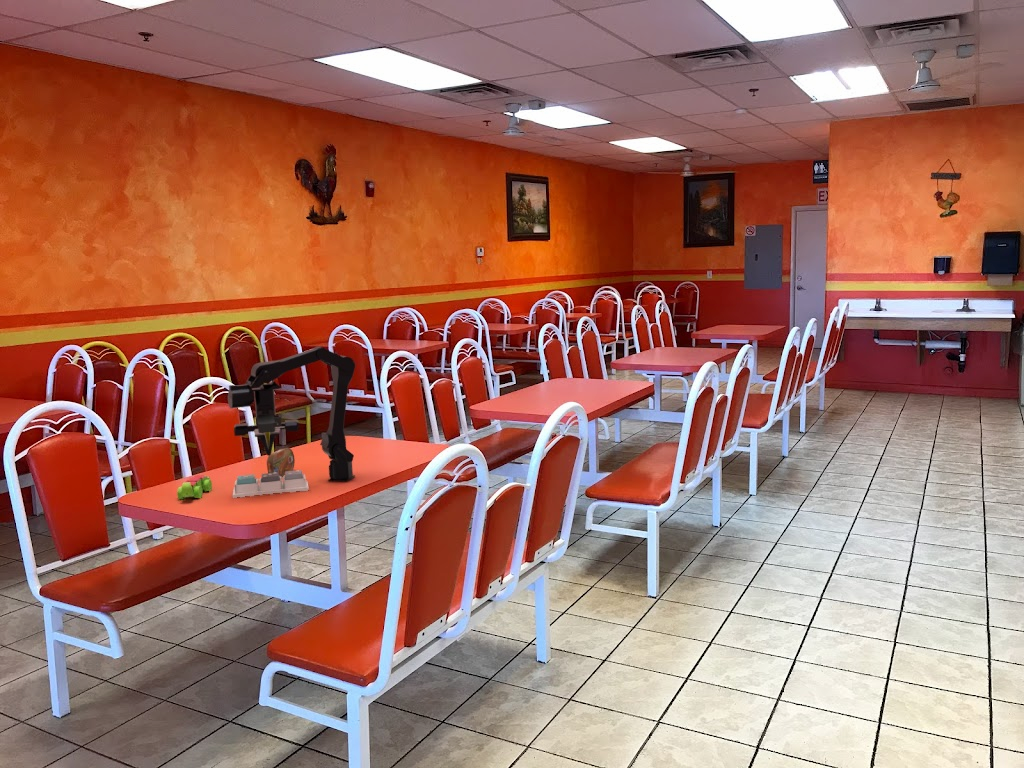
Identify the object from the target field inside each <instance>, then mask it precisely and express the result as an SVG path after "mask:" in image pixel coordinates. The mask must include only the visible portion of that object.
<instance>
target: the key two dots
mask: <svg viewBox="0 0 1024 768" xmlns="http://www.w3.org/2000/svg"><path fill="white" fill-rule="evenodd" d="M302 474H303V470H302V469H299V470H293V471H286V472H285V477H286V480H293V479H303V475H302Z"/></svg>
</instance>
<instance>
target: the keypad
mask: <svg viewBox="0 0 1024 768" xmlns="http://www.w3.org/2000/svg"><path fill="white" fill-rule="evenodd" d="M302 475H303V479H293V480H286V477H285V476H283V477H281V476H279V481H273V482H262V477H260V478H258V477H257V478H256V477H255V483H252V484H242V485H238V484H237V479H236V480H235V481H234V487H233V488H232V489H233V491H232V498H233V499H237V497H240V498H246V497H245V496H250V497H255V496H254V495H260V496H263V495H262V494H270V495H274V494H273V493H280V494H283V493H282V492H290V493H297V492H296V491H300V492H309V491H310V487H309V484H308V483H309V482H308V480H306V474H305V473H302ZM308 490H309V491H308Z"/></svg>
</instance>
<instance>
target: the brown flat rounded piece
mask: <svg viewBox="0 0 1024 768" xmlns="http://www.w3.org/2000/svg"><path fill="white" fill-rule="evenodd" d="M295 462H296V460H295V455H294V452H293V449H291V448H290V447H285V448H279V449H278V450H276V451H274V452H271V454H270V456H268V457H267V459H266V468H267V469H266V470H267V473H274V472H278V473H279V476H281V477H282V476H284V475H285V472H286V471H294V468H295ZM282 478H283V477H282Z"/></svg>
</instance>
